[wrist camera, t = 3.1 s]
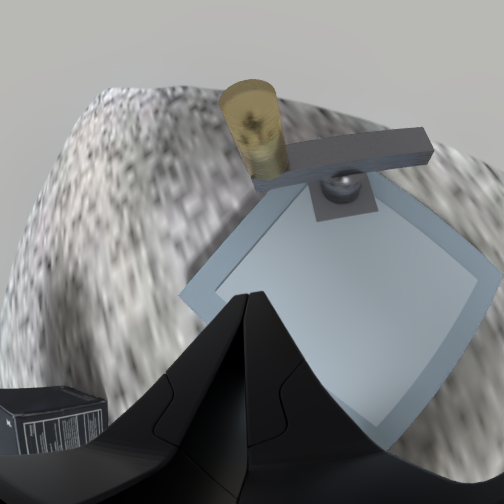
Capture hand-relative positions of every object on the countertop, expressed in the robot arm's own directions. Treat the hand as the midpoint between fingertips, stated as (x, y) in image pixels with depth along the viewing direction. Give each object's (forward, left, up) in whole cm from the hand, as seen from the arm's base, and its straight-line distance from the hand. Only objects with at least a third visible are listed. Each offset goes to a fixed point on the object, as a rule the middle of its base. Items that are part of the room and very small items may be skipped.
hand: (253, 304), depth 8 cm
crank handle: (+9, +3, -10) cm, 14 cm away
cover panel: (+4, -2, -13) cm, 14 cm away
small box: (-22, +6, -13) cm, 26 cm away
